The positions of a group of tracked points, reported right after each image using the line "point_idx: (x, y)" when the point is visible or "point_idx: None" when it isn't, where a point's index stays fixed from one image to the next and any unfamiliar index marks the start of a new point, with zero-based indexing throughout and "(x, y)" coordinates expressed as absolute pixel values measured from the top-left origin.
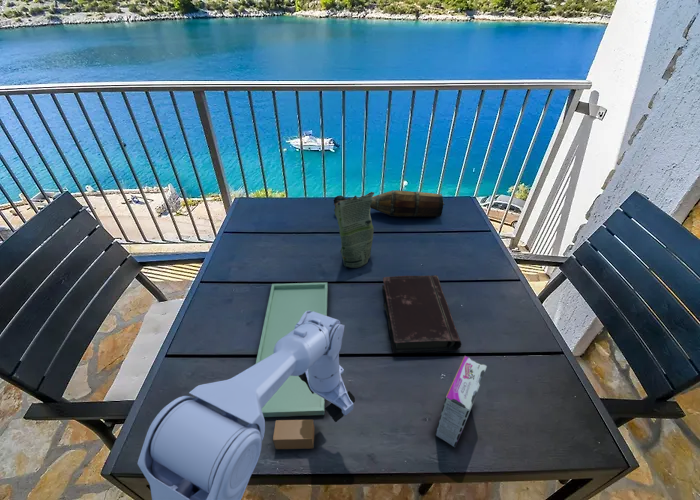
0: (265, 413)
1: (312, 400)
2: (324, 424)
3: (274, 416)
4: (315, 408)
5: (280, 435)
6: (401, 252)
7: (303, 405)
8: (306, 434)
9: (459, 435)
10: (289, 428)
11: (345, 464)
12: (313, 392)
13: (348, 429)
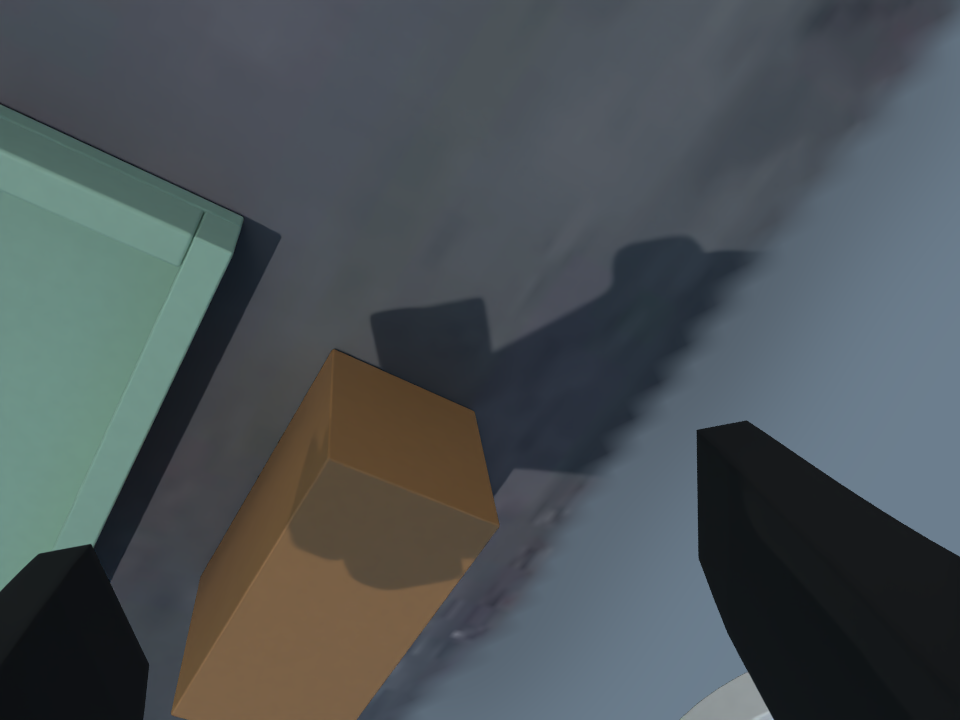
0: None
1: (41, 271)
2: (334, 254)
3: None
4: (171, 321)
5: (326, 712)
6: None
7: (65, 368)
8: (434, 549)
9: None
10: (304, 648)
11: (733, 245)
12: (137, 680)
13: (503, 68)
